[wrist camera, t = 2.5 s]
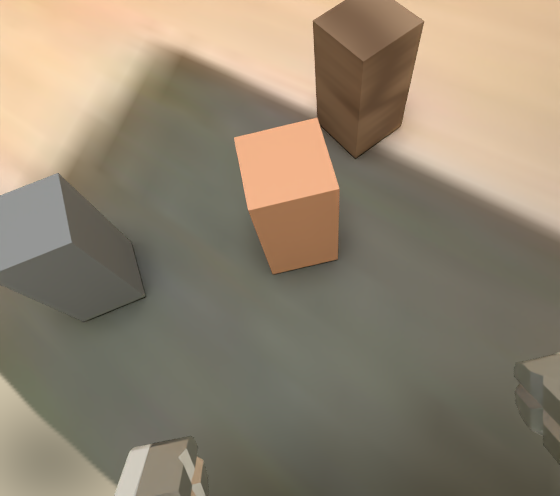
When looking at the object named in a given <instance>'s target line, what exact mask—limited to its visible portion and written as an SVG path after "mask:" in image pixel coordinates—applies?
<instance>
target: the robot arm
mask: <svg viewBox="0 0 560 496" xmlns="http://www.w3.org/2000/svg"><path fill="white" fill-rule="evenodd" d="M514 377H515V378H516V379H517V380H518V381H519V382H520V384H519V385H518V387H517V388H516V390H515V402H516V405H517V408H518V411H519V414H520V415H521V417H522V419H523V421H524V422H525V424H526V425H527V426H528V427H529V429H530V430H531V431H533V432H536V433H538V434H540V435H542V436H543V446H544V447H545V448H546V449H547V450H548V452H549V453H550V454H551V455H552V456H553V458H554V459H555V460H556V461H557V462H558V464H559V465H560V352H559V353H556V354H552V355H547V356H543V357H539V358H534V359H530V360H526V361H522V362H517V363H516V364H515V367H514ZM197 451H198V446H197V443H196V441H195V439H194V437H192V436H187V437H182V438H177V439H172V440H167V441H162V442H157V443H153V444H149V445H144V446H139V447H134V448H133V449H132V450H131V451H130V452H129V454H128V457H127V460H126V463H125V466H124V469H123V472H122V475H121V477H120V480H119V483H118V486H117V489H116V492H115V495H114V496H208V495H209V484H208V475H207V470H206V466H205V464H204V461H203V460H202V459H200V458H199V457H197Z"/></svg>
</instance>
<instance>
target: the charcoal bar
mask: <svg viewBox="0 0 560 496" xmlns="http://www.w3.org/2000/svg"><path fill="white" fill-rule="evenodd" d="M0 285H2V286H4V287H7V288H9V289H11V290H13V291H16V292H18V293H20V294H22V295H24V296H27V297H29V298H31V299H33V300H36V301H38V302H40V303H42V304H45V305H47V306H49V307H51V308H54V309H56V310H58V311H60V312H63V313H65V314H67V315H69V316H72V317H74V318H76V319H78V320H81V321H83V322H84V321H87V320H89V319H91V318H94V317H96V316H99V315H101V314H104V313H106V312H109V311H111V310H113V309H116V308H118V307H121V306H123V305H126V304H128V303H131V302H133V301H135V300H138V299H140V298H143V297H145V292H144V289H143V285H142V281H141V277H140V274H139V270H138V266H137V262H136V258H135V255H134V251H133V247H132V243H131V241H130V240H128V239H127V238H126V237H125V236H124V235H123V234H122V233H121V232H120V231H119V230H118V229H117V228H116V227H115V226H114V225H113V224H112V223H111V222H109V221H108V220H107V219H106V218H105V217H104V216H103V215H102V214H101V213H100V212H99V211H98V210H97V209H96V208H95V207H94V206H93V205H91V204H90V203H89V202H88V201H87V200H86V199H85V198H84V197H83V196H82V195H81V194H80V193H79V192H78V191H77V190H76V189H75V188H74V187H72V186H71V185H70V184H69V183H68V182H67V181H66V180H65V179H64V178H63V177H62V176H61V175H60V174H59V173H57V174H54V175H52V176H49V177H47V178H44V179H41V180H39V181H36V182H34V183H31V184H29V185H26V186H23V187H21V188H18V189H16V190H13V191H11V192H8V193H5V194H3V195H0Z"/></svg>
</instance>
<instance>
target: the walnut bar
mask: <svg viewBox="0 0 560 496" xmlns="http://www.w3.org/2000/svg"><path fill="white" fill-rule="evenodd" d="M423 24H424V21H423V20H422V19H421V18H419V17H418V16H416V15H415V14H413V13H412V12H410V11H409V10H408V9H406V8H405V7H403V6H402V5H400V4H399V3H398V2H396V1H395V0H345V1H343V2H342V3H340V4H338V5H337V6H335V7H334V8H332V9H331V10H329V11H327V12H326V13H324V14H323V15H321V16H320V17H318V18H316V19H315V20H313V35H314V55H315V76H316V97H317V118H318V121H319V124H320V125H321V126H322V127H323V128H324V129H325V130H326V131H327V132H328V133H329V134H330V135H332V136H333V137H334V138H335V139H336V140H337V141H338V142H339V143H340V144H341V145H342V146H343V147H344V148H345V149H346V150H347V151H348V152H349V153H350V154H352V155H353V156H354V157H355V158H356V157H358V156H359V155H361V154H362V153H363V152H365V151H366V150H368V149H369V148H370V147H372V146H373V145H375V144H376V143H377V142H379V141H380V140H382V139H383V138H384V137H386V136H387V135H389V134H390V133H392V132H393V131H394V130H396V129H397V128H399V127H400V126H401V123H402V119H403V114H404V110H405V105H406V101H407V96H408V92H409V87H410V83H411V78H412V74H413V69H414V65H415V60H416V56H417V51H418V47H419V42H420V38H421V33H422V29H423Z"/></svg>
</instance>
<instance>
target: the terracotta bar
mask: <svg viewBox="0 0 560 496" xmlns="http://www.w3.org/2000/svg"><path fill="white" fill-rule="evenodd" d="M234 140H235V145H236V150H237V155H238V160H239V165H240V171H241V176H242V181H243V186H244V191H245V196H246V201H247V206H248V211H249V214H250V216H251V219H252V221H253V224H254V227H255V229H256V232H257V234H258V237H259V240H260V242H261V245H262V248H263V250H264V253H265V255H266V258H267V261H268V263H269V266H270V268H271V271H272V274H276V273H281V272H285V271H289V270H294V269H298V268H302V267H306V266H311V265H315V264H319V263H324V262H328V261H332V260H336V259H338V226H339V186H338V183H337V179H336V176H335V173H334V170H333V167H332V163H331V160H330V157H329V154H328V150H327V147H326V144H325V141H324V137H323V134H322V131H321V128H320V124H319V121H318V118H314V119H310V120H306V121H301V122H297V123H293V124H289V125H285V126H281V127H277V128H272V129H268V130H264V131H260V132H256V133H252V134H248V135H243V136H239V137H235V138H234Z"/></svg>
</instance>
